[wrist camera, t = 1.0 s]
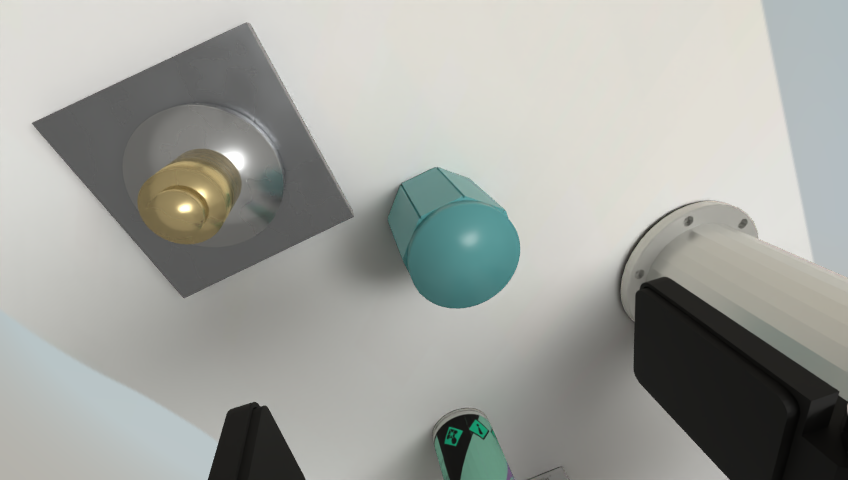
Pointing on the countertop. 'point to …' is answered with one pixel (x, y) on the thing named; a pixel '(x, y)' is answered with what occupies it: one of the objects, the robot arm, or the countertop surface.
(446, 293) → the cap
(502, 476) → the spray can
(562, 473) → the coffee box
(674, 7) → the countertop surface
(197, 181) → the acorn nut on plate
